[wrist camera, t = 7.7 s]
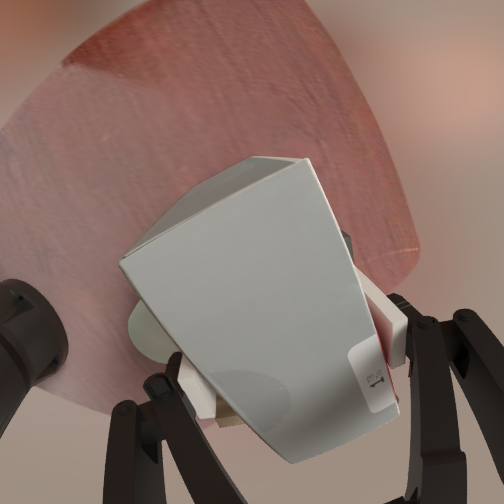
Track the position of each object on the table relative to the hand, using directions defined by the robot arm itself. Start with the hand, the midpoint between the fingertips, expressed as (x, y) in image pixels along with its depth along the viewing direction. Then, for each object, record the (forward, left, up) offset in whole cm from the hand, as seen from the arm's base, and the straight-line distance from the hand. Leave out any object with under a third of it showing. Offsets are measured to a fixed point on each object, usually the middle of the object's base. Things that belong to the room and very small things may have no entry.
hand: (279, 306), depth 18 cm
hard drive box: (0, +1, -14) cm, 14 cm away
